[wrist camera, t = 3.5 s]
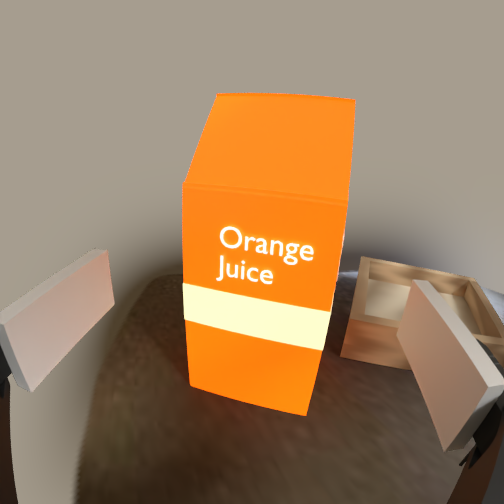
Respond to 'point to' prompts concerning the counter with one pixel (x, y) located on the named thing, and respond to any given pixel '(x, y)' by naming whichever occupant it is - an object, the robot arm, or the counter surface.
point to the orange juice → (264, 243)
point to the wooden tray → (393, 304)
